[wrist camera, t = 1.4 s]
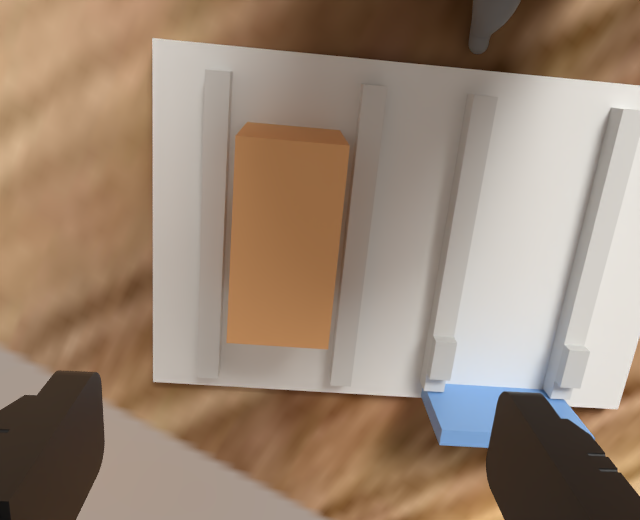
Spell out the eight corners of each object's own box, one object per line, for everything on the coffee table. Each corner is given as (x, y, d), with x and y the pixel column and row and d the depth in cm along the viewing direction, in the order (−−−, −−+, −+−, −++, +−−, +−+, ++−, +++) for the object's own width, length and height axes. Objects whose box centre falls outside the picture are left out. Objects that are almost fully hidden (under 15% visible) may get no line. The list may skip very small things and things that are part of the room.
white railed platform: (156, 38, 24) (124, 33, 20) (699, 91, 26) (786, 97, 21) (156, 373, 29) (130, 430, 25) (609, 400, 31) (664, 458, 26)
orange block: (246, 121, 25) (235, 135, 20) (339, 130, 25) (349, 145, 20) (238, 294, 27) (226, 342, 22) (322, 300, 27) (328, 349, 23)
